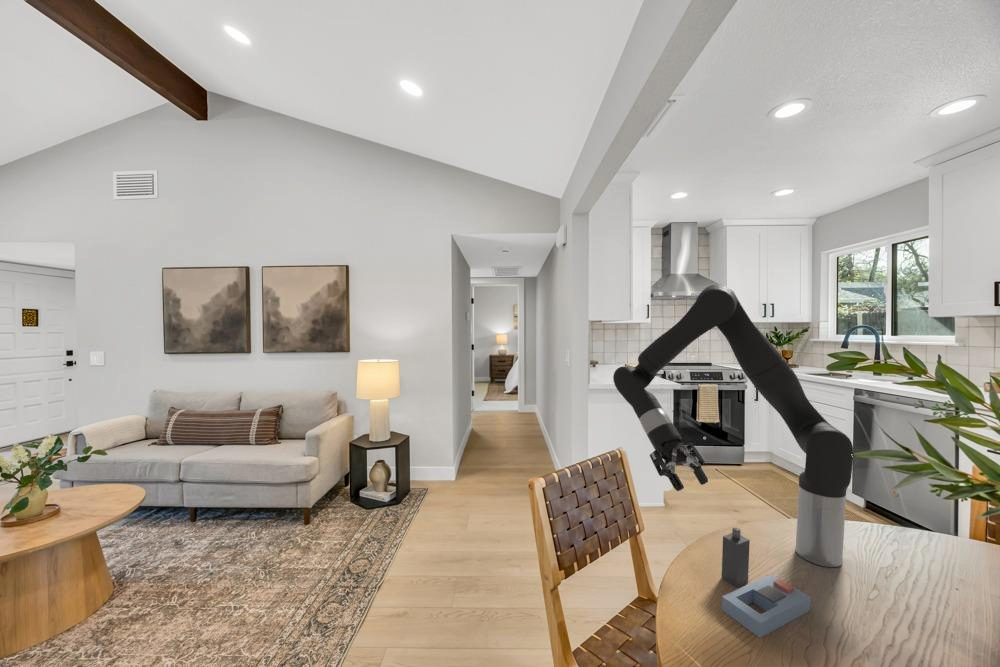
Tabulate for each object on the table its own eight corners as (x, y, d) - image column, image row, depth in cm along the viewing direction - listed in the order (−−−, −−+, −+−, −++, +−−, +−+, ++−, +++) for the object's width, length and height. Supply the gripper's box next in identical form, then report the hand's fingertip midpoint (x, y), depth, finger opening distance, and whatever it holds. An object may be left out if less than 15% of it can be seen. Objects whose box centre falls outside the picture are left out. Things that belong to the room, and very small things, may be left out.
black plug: (733, 572, 98) (734, 523, 97) (747, 582, 95) (749, 531, 94) (721, 577, 96) (723, 527, 95) (736, 587, 93) (738, 535, 92)
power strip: (770, 586, 93) (771, 570, 93) (810, 610, 86) (810, 593, 86) (721, 610, 86) (722, 592, 86) (759, 638, 79) (760, 619, 79)
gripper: (647, 425, 108) (681, 486, 99) (686, 418, 115) (722, 475, 105) (632, 439, 114) (663, 498, 104) (670, 432, 120) (703, 487, 110)
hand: (693, 486), depth 105 cm, fingers open, 8 cm apart
